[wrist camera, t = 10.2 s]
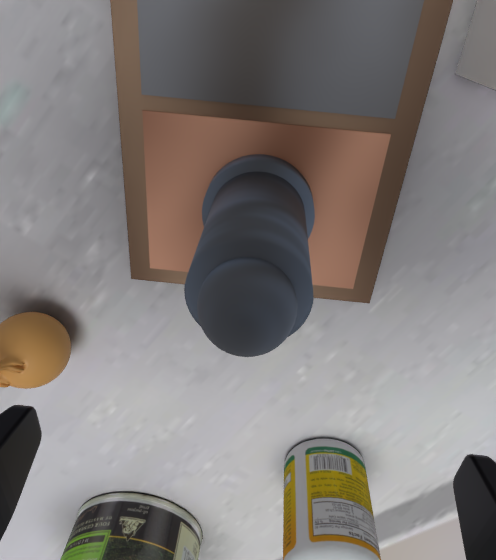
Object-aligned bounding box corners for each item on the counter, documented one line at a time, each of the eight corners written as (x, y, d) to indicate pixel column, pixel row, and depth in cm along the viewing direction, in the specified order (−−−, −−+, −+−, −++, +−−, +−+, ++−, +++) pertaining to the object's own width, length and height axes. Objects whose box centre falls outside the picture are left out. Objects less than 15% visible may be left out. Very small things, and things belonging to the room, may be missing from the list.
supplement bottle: (334, 424, 28) (355, 599, 19) (379, 468, 30) (415, 644, 21) (266, 455, 30) (260, 625, 22) (313, 494, 32) (323, 664, 24)
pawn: (321, 159, 18) (349, 272, 11) (304, 260, 21) (317, 408, 13) (206, 148, 18) (152, 252, 11) (203, 249, 21) (158, 391, 13)
